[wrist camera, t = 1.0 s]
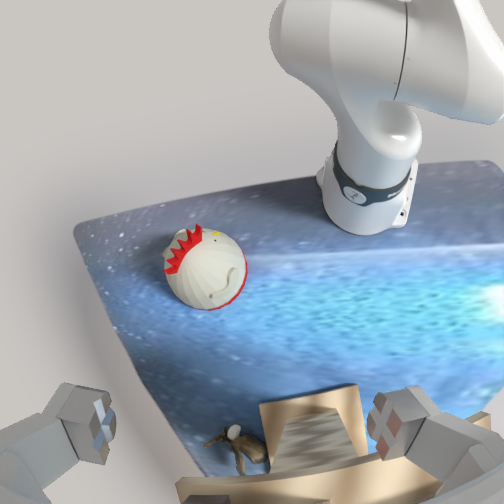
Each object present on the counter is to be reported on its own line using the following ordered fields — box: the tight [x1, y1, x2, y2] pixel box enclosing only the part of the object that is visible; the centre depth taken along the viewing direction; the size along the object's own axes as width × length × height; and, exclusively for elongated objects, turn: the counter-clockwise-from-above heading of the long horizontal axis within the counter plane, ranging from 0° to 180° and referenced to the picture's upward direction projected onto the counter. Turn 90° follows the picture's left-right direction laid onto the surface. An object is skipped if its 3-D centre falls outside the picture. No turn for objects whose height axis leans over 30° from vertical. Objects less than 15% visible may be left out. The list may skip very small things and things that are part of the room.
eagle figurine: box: [204, 424, 268, 476], centre depth 43 cm, size 8×7×9 cm
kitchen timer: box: [162, 224, 247, 311], centre depth 48 cm, size 14×14×15 cm
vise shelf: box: [175, 384, 491, 504], centre depth 26 cm, size 24×14×37 cm, turn 100°
